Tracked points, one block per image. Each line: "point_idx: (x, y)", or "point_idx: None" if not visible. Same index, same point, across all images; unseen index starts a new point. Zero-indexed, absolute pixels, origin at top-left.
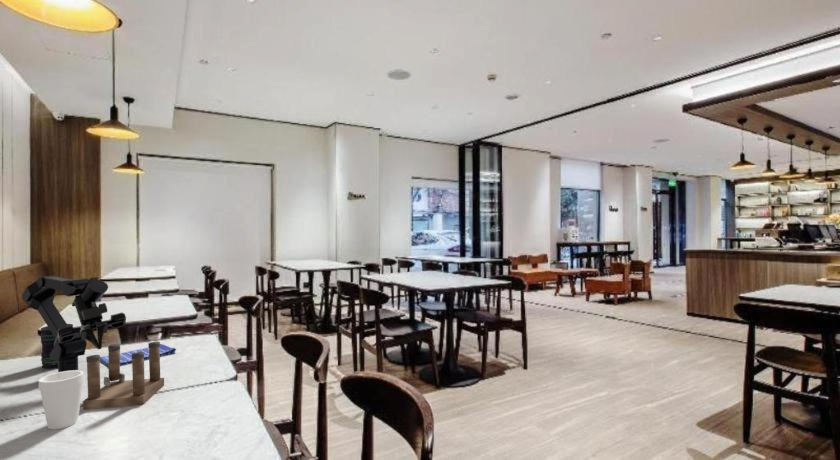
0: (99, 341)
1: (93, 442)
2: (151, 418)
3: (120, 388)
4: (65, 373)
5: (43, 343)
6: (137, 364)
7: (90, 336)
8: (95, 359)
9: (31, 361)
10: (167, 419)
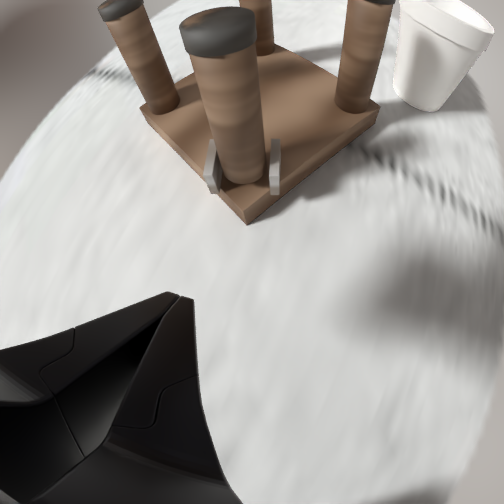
0: (139, 320)
1: None
2: (289, 15)
3: (264, 110)
4: (447, 17)
5: None
6: None
7: (195, 432)
8: None
9: None
10: (276, 5)
